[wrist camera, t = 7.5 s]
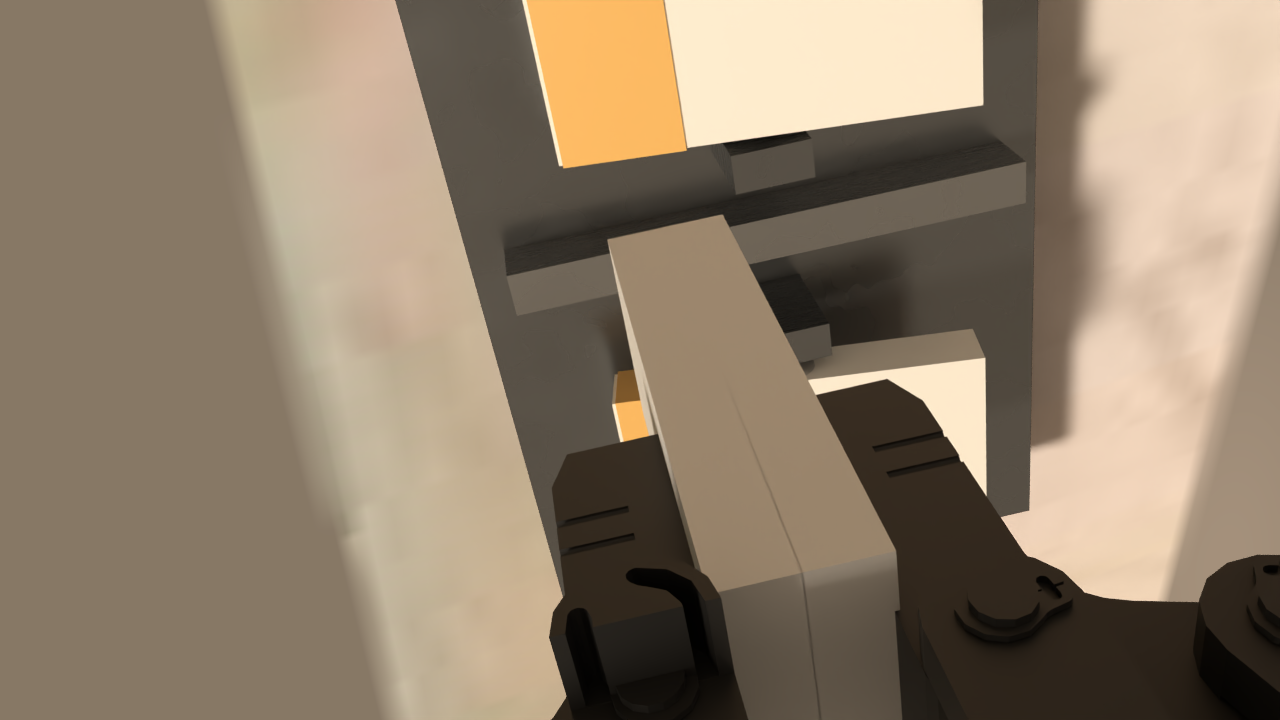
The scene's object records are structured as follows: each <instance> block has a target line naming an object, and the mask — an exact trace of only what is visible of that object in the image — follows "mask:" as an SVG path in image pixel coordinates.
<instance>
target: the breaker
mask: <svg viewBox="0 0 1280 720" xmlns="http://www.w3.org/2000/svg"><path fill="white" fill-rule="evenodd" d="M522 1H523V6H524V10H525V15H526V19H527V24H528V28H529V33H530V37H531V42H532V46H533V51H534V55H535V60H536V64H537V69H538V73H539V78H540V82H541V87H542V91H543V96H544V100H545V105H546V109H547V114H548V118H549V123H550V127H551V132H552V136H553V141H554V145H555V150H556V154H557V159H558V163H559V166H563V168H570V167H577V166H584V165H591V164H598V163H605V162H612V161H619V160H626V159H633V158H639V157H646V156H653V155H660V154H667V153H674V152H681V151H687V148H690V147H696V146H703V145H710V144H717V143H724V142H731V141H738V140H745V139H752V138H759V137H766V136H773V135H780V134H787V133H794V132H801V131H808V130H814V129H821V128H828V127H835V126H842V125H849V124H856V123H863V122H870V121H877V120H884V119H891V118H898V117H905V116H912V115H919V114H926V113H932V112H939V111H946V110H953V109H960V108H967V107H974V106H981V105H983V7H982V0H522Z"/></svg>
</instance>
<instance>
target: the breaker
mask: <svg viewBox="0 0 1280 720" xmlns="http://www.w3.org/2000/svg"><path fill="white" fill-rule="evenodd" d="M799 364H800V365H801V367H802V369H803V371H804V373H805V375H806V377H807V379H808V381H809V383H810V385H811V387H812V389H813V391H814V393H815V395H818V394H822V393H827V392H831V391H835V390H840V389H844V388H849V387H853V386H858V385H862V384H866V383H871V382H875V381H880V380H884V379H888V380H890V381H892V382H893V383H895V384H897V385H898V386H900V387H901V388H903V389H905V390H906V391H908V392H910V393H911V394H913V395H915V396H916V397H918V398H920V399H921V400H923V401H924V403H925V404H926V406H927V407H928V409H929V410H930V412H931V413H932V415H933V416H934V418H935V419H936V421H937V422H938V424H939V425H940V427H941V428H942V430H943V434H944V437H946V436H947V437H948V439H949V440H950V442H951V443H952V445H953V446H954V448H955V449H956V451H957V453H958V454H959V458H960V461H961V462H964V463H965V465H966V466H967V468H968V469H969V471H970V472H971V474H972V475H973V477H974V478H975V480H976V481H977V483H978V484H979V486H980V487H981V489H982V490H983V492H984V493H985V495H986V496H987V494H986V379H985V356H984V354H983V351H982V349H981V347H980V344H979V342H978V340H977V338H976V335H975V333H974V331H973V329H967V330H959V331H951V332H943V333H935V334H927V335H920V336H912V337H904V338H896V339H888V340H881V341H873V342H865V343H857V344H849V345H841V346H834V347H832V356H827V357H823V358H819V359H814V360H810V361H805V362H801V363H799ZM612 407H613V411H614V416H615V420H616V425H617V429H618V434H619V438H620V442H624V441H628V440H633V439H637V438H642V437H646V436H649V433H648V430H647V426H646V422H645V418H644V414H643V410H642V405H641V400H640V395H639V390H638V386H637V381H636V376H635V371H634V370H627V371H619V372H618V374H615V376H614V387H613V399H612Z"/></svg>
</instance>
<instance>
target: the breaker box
mask: <svg viewBox="0 0 1280 720" xmlns="http://www.w3.org/2000/svg"><path fill="white" fill-rule="evenodd" d="M395 1H396V5H397V8H398V12H399V15H400V19H401V22H402V26H403V29H404V33H405V37H406V40H407V44H408V47H409V51H410V54H411V58H412V61H413V65H414V69H415V72H416V76H417V79H418V83H419V86H420V90H421V93H422V97H423V101H424V104H425V108H426V111H427V115H428V118H429V122H430V125H431V129H432V133H433V136H434V140H435V143H436V147H437V150H438V154H439V157H440V161H441V165H442V168H443V172H444V175H445V179H446V182H447V186H448V189H449V193H450V197H451V200H452V204H453V207H454V211H455V214H456V218H457V221H458V225H459V229H460V232H461V236H462V239H463V243H464V246H465V250H466V254H467V257H468V261H469V264H470V268H471V271H472V275H473V278H474V282H475V286H476V289H477V293H478V296H479V300H480V303H481V307H482V310H483V314H484V318H485V321H486V325H487V328H488V332H489V335H490V339H491V342H492V346H493V350H494V353H495V357H496V360H497V364H498V367H499V371H500V374H501V378H502V382H503V385H504V389H505V392H506V396H507V399H508V403H509V406H510V410H511V414H512V417H513V421H514V424H515V428H516V431H517V435H518V438H519V442H520V446H521V449H522V453H523V456H524V460H525V463H526V467H527V470H528V474H529V478H530V481H531V485H532V488H533V492H534V495H535V499H536V502H537V506H538V510H539V513H540V517H541V520H542V524H543V527H544V531H545V534H546V538H547V542H548V545H549V549H550V552H551V556H552V559H553V563H554V566H555V570H556V574H557V577H558V581H559V584H560V588H561V591H562V595H563V597H564V595H565V591H564V583H563V575H562V567H561V559H560V557H561V555H560V551H559V543H558V535H557V525H556V519H555V511H554V503H553V495H552V486H553V484H554V482H555V480H556V477H557V475H558V473H559V471H560V469H561V466H562V464H563V462H564V460H565V458H566V455H567V454H571V453H575V452H580V451H584V450H589V449H593V448H597V447H602V446H606V445H611V444H615V443H619V442H620V438H619V434H618V429H617V425H616V420H615V416H614V411H613V407H612V399H613V387H614V376H615V374H618V372H619V371H627V370H634V366H633V361H632V357H631V352H630V347H629V342H628V337H627V332H626V327H625V323H624V318H623V313H622V308H621V303H620V298H619V294H618V289H617V284H616V279H615V274H614V269H613V264H612V260H611V255H610V250H609V245H608V239H612V238H617V237H622V236H626V235H631V234H635V233H640V232H644V231H649V230H653V229H658V228H663V227H667V226H672V225H676V224H681V223H685V222H690V221H694V220H699V219H704V218H708V217H713V216H717V215H722V214H723V216H724V218H725V220H726V222H727V224H728V226H729V228H730V230H731V232H732V234H733V236H734V238H735V240H736V241H737V243H738V245H739V247H740V249H741V251H742V253H743V255H744V257H745V259H746V261H747V263H748V265H749V267H750V269H751V271H752V272H753V274H754V276H755V278H756V280H757V282H758V284H759V286H760V288H761V290H762V292H763V294H764V296H765V298H766V300H767V302H768V303H769V305H770V307H771V309H772V311H773V313H774V315H775V317H776V319H777V321H778V323H779V325H780V327H781V329H782V331H783V333H784V334H785V336H786V338H787V340H788V342H789V344H790V346H791V348H792V350H793V352H794V354H795V356H796V358H797V360H798V362H799V363H801V362H805V361H810V360H814V359H819V358H823V357H827V356H832V347H834V346H841V345H849V344H857V343H865V342H873V341H881V340H888V339H896V338H904V337H912V336H920V335H927V334H935V333H943V332H951V331H959V330H967V329H973V331H974V333H975V335H976V338H977V340H978V342H979V344H980V347H981V349H982V351H983V354H984V356H985V379H986V494H987V498H988V499H989V501H990V502H991V504H992V505H993V507H994V508H995V510H996V511H997V513H998V514H999V516H1000V517H1003V516H1007V515H1011V514H1016V513H1020V512H1024V511H1028V510H1029V495H1030V437H1031V379H1032V321H1033V262H1034V204H1035V146H1036V88H1037V30H1038V0H982V7H983V105H981V106H974V107H967V108H960V109H953V110H946V111H939V112H932V113H926V114H919V115H912V116H905V117H898V118H891V119H884V120H877V121H870V122H863V123H856V124H849V125H842V126H835V127H828V128H821V129H814V130H808V131H801V132H794V133H787V134H780V135H773V136H766V137H759V138H752V139H745V140H738V141H731V142H724V143H717V144H710V145H703V146H696V147H690V148H687V151H681V152H674V153H667V154H660V155H653V156H646V157H639V158H633V159H626V160H619V161H612V162H605V163H598V164H591V165H584V166H577V167H570V168H563V166H559V163H558V159H557V154H556V150H555V145H554V141H553V136H552V132H551V127H550V123H549V118H548V114H547V109H546V105H545V100H544V96H543V91H542V87H541V82H540V78H539V73H538V69H537V64H536V60H535V55H534V51H533V46H532V42H531V37H530V33H529V28H528V24H527V19H526V15H525V10H524V6H523V1H522V0H395Z"/></svg>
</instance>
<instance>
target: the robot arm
mask: <svg viewBox="0 0 1280 720" xmlns="http://www.w3.org/2000/svg"><path fill="white" fill-rule="evenodd" d="M608 245H609V250H610V255H611V260H612V264H613V269H614V274H615V279H616V284H617V289H618V294H619V298H620V303H621V308H622V313H623V318H624V323H625V327H626V332H627V337H628V342H629V347H630V352H631V357H632V361H633V366H634V371H635V376H636V381H637V386H638V390H639V395H640V400H641V405H642V410H643V414H644V418H645V422H646V426H647V430H648V433H649V436H646V437H642V438H637V439H633V440H628V441H624V442H619V443H615V444H611V445H606V446H602V447H597V448H593V449H589V450H584V451H580V452H575V453H571V454H567V455H566V458H565V460H564V462H563V464H562V466H561V469H560V471H559V473H558V475H557V477H556V480H555V482H554V484H553V486H552V495H553V503H554V511H555V519H556V525H557V535H558V543H559V551H560V555H561V557H560V559H561V567H562V575H563V583H564V591H565V595H564V597H563V598H562V600H561V601H560V603H559V604H558V606H557V607H556V609H555V610H554V612H553V616H552V622H551V629H550V635H549V639H550V642H551V645H552V649H553V652H554V655H555V659H556V662H557V665H558V669H559V672H560V675H561V679H562V682H563V685H564V689H565V692H566V695H567V696H566V699H565V700H564V702H563V703H562V705H561V707H560V708H559V710H558V711H557V713H556V714H555V716H554V717H553V718H552V719H551V720H1280V555H1255V556H1251V557H1248V558H1244V559H1240V560H1236V561H1233V562H1229V563H1227V564H1225V565H1224V566H1223V567H1221V568H1220V569H1219V570H1218V571H1216V572H1215V573H1214V574H1212V575H1211V576H1210V577H1208V578H1207V580H1206V583H1205V585H1204V588H1203V591H1202V594H1201V597H1200V599H1199V602H1160V601H1129V600H1119V599H1109V598H1103V597H1099V596H1095V595H1092V594H1088V593H1084V592H1083V590H1082V589H1081V588H1080V587H1078V586H1077V585H1076V584H1075V583H1074V582H1073V581H1072V580H1071V579H1070V578H1069V577H1068V576H1067V575H1066V574H1065V573H1064V572H1063V571H1061V570H1059V569H1057V568H1055V567H1053V566H1050V565H1048V564H1046V563H1044V562H1042V561H1040V560H1038V559H1036V558H1032V557H1027V555H1026V554H1025V553H1024V552H1023V551H1022V549H1021V547H1020V546H1019V544H1018V543H1017V541H1016V540H1015V538H1014V537H1013V535H1012V534H1011V532H1010V531H1009V529H1008V528H1007V526H1006V525H1005V523H1004V522H1003V520H1002V519H1001V517H1000V516H999V514H998V513H997V511H996V510H995V508H994V507H993V505H992V504H991V502H990V501H989V499H988V498H987V496H986V495H985V493H984V492H983V490H982V489H981V487H980V486H979V484H978V483H977V481H976V480H975V478H974V477H973V475H972V474H971V472H970V471H969V469H968V468H967V466H966V465H965V463H964V462H961V461H960V458H959V454H958V453H957V451H956V449H955V448H954V446H953V445H952V443H951V442H950V440H949V439H948V437H947V436H946V437H944V434H943V430H942V428H941V427H940V425H939V424H938V422H937V421H936V419H935V418H934V416H933V415H932V413H931V412H930V410H929V409H928V407H927V406H926V404H925V403H924V401H923V400H921V399H920V398H918V397H916V396H915V395H913V394H911V393H910V392H908V391H906V390H905V389H903V388H901V387H900V386H898V385H897V384H895V383H893V382H892V381H890V380H888V379H884V380H880V381H875V382H871V383H866V384H862V385H858V386H853V387H849V388H844V389H840V390H835V391H831V392H827V393H822V394H818V395H815V393H814V391H813V389H812V387H811V385H810V383H809V381H808V379H807V377H806V375H805V373H804V371H803V369H802V367H801V365H800V364H799V362H798V360H797V358H796V356H795V354H794V352H793V350H792V348H791V346H790V344H789V342H788V340H787V338H786V336H785V334H784V333H783V331H782V329H781V327H780V325H779V323H778V321H777V319H776V317H775V315H774V313H773V311H772V309H771V307H770V305H769V303H768V302H767V300H766V298H765V296H764V294H763V292H762V290H761V288H760V286H759V284H758V282H757V280H756V278H755V276H754V274H753V272H752V271H751V269H750V267H749V265H748V263H747V261H746V259H745V257H744V255H743V253H742V251H741V249H740V247H739V245H738V243H737V241H736V240H735V238H734V236H733V234H732V232H731V230H730V228H729V226H728V224H727V222H726V220H725V218H724V216H723V214H722V215H717V216H713V217H708V218H704V219H699V220H694V221H690V222H685V223H681V224H676V225H672V226H667V227H663V228H658V229H653V230H649V231H644V232H640V233H635V234H631V235H626V236H622V237H617V238H612V239H608Z"/></svg>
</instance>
